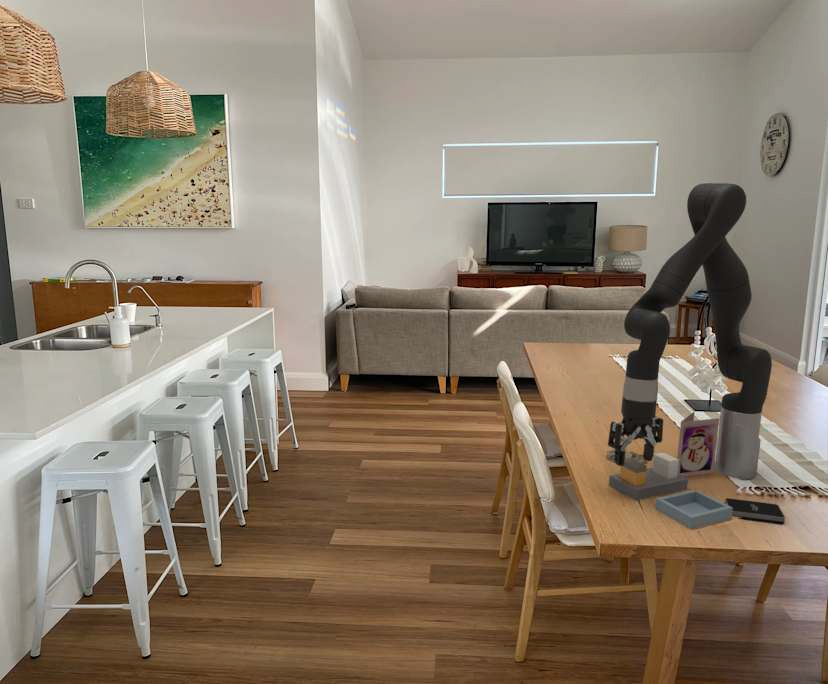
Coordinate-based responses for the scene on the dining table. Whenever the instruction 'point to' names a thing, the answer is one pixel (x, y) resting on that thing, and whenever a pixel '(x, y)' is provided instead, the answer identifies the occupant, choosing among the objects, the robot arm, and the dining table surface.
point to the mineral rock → (626, 456)
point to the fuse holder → (648, 485)
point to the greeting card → (697, 446)
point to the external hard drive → (756, 511)
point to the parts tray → (693, 509)
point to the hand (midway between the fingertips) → (633, 462)
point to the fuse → (665, 466)
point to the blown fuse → (633, 472)
